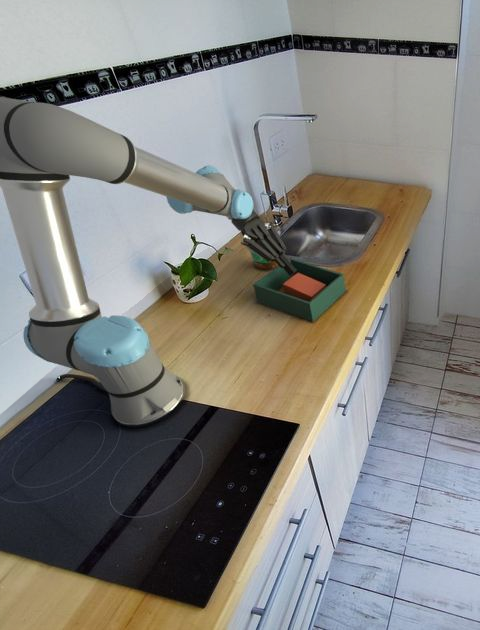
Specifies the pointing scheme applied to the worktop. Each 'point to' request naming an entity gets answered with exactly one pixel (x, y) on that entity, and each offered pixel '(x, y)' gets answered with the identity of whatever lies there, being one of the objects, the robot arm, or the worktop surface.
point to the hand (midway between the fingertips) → (293, 273)
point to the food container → (262, 261)
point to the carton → (303, 287)
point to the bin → (296, 306)
